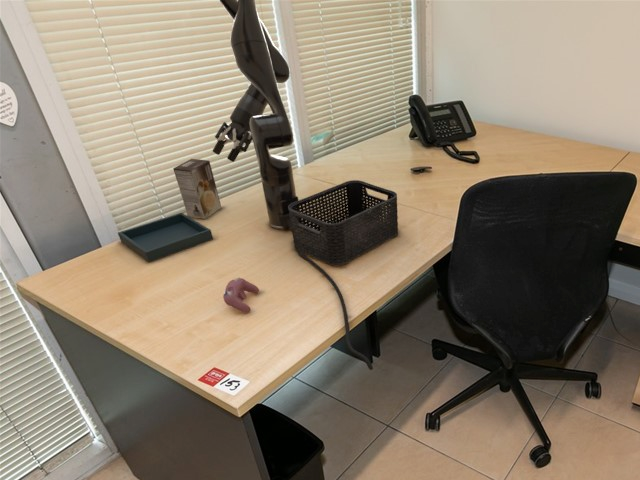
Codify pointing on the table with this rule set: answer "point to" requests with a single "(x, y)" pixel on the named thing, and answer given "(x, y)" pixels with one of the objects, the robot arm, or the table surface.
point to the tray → (165, 236)
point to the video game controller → (238, 294)
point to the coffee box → (197, 188)
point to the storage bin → (343, 222)
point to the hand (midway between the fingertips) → (222, 156)
